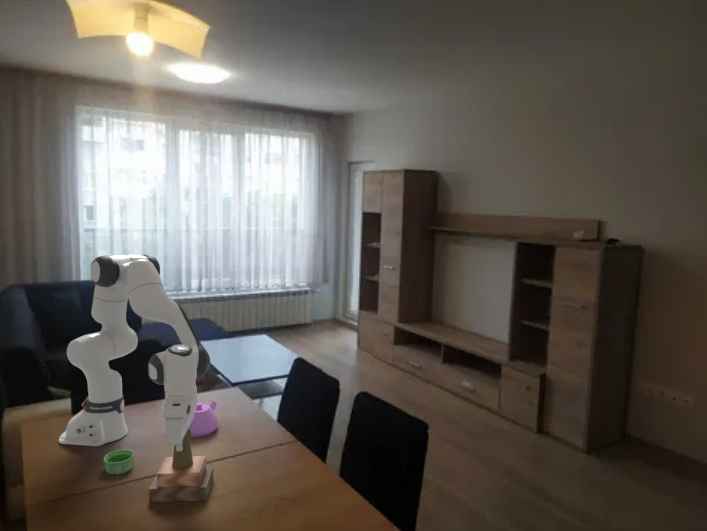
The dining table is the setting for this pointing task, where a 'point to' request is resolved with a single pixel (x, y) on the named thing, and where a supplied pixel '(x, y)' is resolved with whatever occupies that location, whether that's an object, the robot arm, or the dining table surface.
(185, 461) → the cork
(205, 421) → the teapot
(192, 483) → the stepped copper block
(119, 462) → the ramekin
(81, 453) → the dining table surface
